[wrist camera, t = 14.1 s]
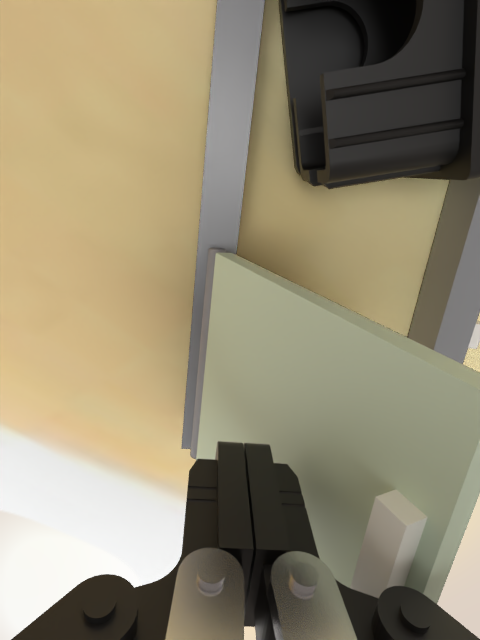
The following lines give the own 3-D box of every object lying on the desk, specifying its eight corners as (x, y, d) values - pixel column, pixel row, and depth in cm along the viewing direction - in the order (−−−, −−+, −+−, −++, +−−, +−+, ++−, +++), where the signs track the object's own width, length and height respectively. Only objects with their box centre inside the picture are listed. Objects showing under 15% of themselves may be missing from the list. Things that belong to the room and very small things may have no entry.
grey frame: (184, 419, 22) (181, 448, 20) (238, -236, 14) (242, -317, 12) (419, 434, 24) (441, 463, 21) (600, -159, 15) (671, -218, 13)
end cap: (450, 165, 19) (570, 164, 13) (296, 190, 19) (337, 201, 12) (458, -120, 15) (629, -321, 9) (269, -90, 15) (307, -271, 9)
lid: (201, 448, 20) (176, 454, 20) (221, 247, 17) (191, 247, 16) (386, 734, 10) (347, 764, 10) (518, 391, 7) (472, 403, 7)
